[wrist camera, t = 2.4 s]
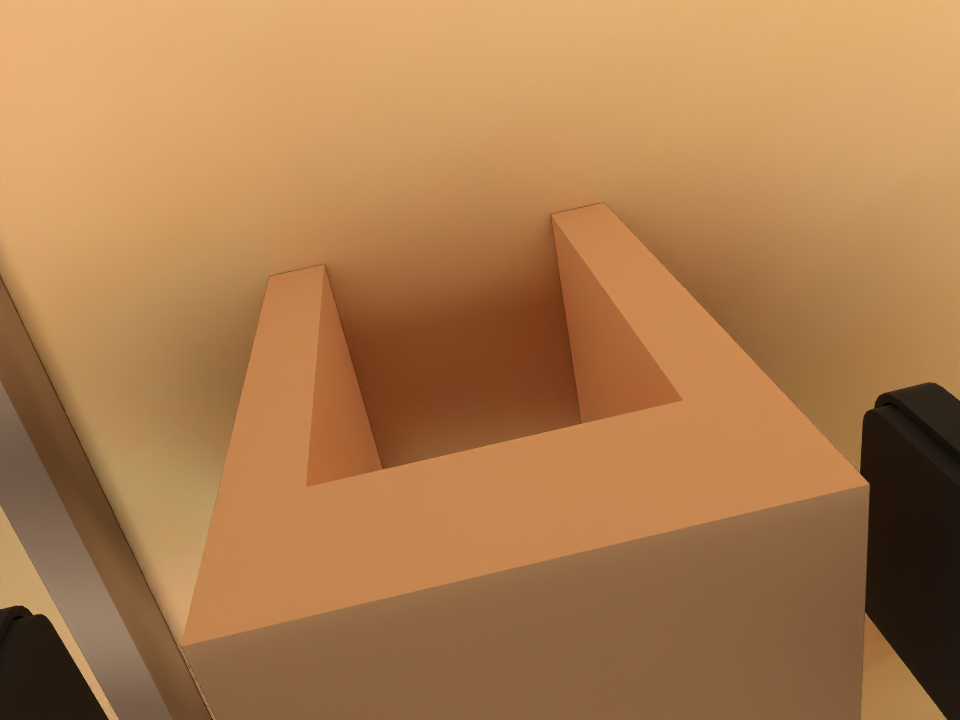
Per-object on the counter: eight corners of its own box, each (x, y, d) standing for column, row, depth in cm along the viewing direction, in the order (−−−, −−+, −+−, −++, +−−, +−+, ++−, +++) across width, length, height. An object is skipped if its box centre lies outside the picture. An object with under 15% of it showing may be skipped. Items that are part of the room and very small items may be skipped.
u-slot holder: (630, 430, 18) (856, 830, 10) (340, 497, 18) (331, 962, 10) (603, 202, 16) (870, 483, 8) (269, 276, 15) (181, 646, 7)
